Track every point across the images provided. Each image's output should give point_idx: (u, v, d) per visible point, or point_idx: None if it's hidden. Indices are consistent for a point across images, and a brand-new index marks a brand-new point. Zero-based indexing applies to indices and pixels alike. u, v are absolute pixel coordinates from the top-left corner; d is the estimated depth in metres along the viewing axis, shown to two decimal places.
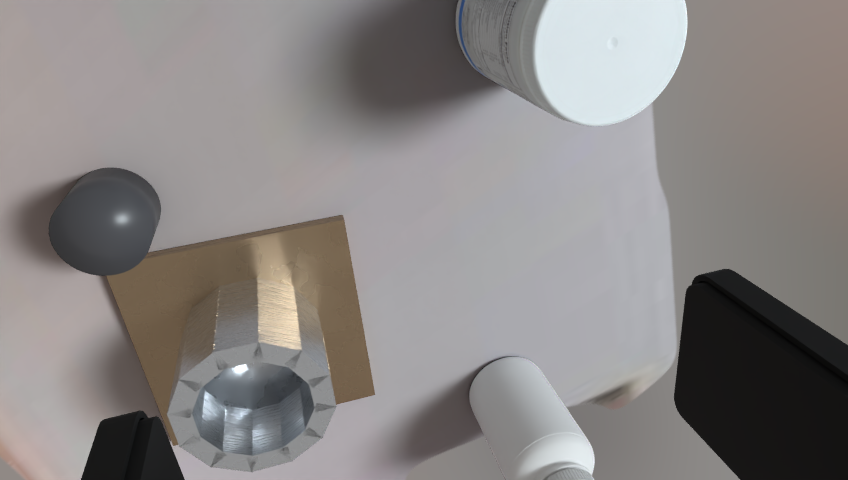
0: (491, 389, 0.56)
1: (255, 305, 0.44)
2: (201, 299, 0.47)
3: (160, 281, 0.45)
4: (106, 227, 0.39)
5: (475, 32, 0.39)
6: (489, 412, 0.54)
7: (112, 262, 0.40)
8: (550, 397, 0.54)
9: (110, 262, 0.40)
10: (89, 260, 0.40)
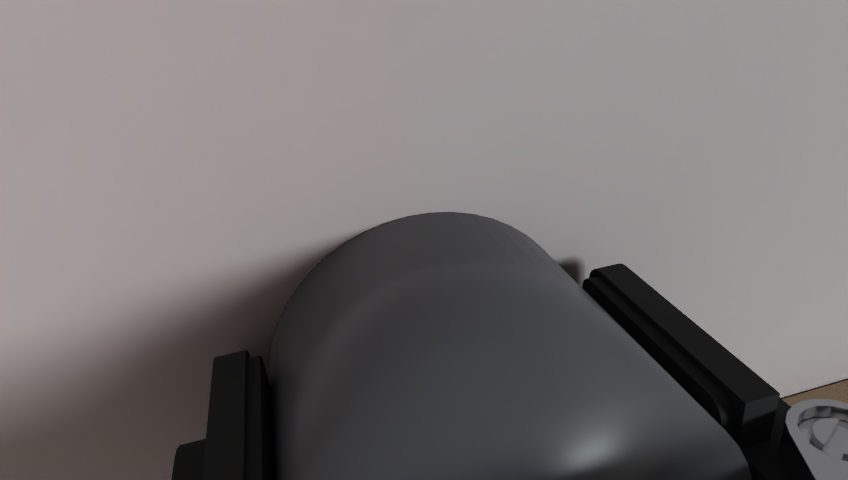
0: None
1: None
2: None
3: None
4: None
5: None
6: None
7: None
8: None
9: None
10: None
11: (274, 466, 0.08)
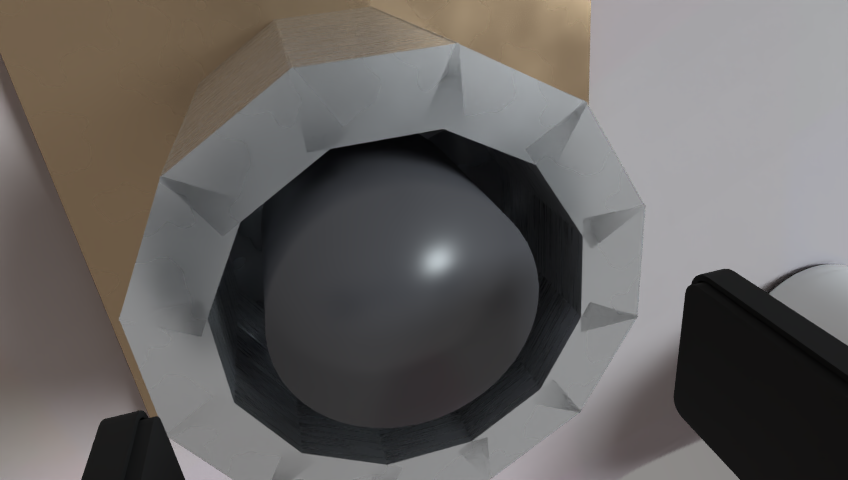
0: (824, 322, 0.27)
1: (392, 19, 0.15)
2: (227, 56, 0.18)
3: None
4: (427, 294, 0.13)
5: None
6: None
7: (422, 391, 0.14)
8: None
9: (418, 392, 0.14)
10: (364, 391, 0.13)
11: None
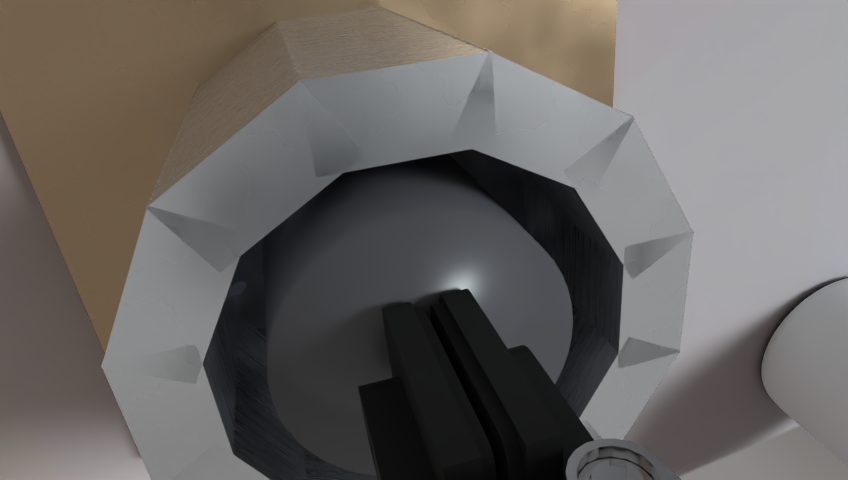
0: None
1: (407, 22, 0.13)
2: (225, 61, 0.17)
3: None
4: None
5: None
6: None
7: None
8: None
9: None
10: None
11: (264, 292, 0.13)
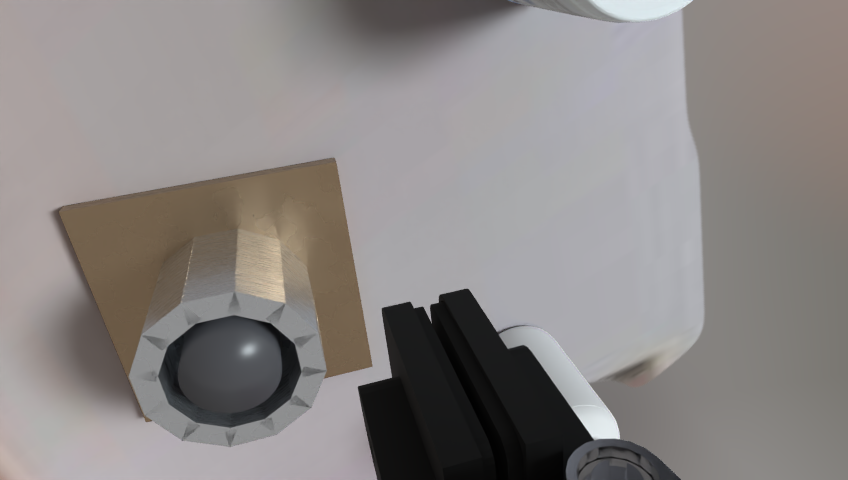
0: None
1: (233, 255, 0.38)
2: (174, 252, 0.41)
3: (126, 231, 0.40)
4: (236, 365, 0.36)
5: None
6: None
7: (240, 399, 0.37)
8: (568, 367, 0.48)
9: (238, 400, 0.37)
10: (217, 399, 0.37)
11: None
